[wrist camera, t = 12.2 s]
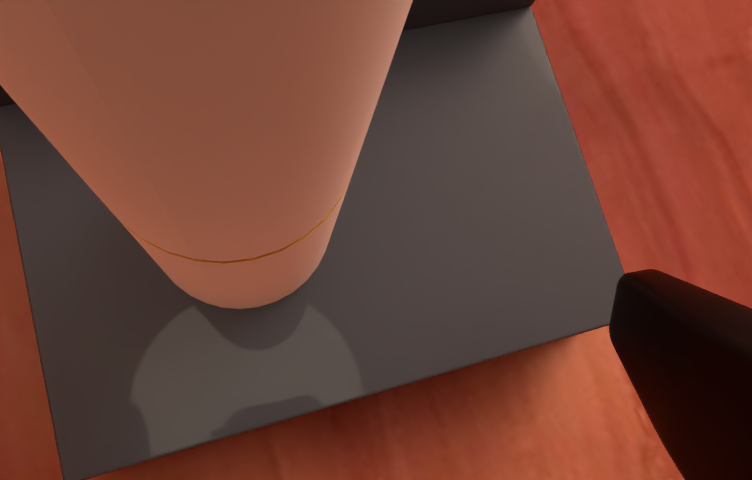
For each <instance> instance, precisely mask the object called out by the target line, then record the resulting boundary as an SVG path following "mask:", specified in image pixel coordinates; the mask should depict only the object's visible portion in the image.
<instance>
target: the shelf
mask: <svg viewBox="0 0 752 480" xmlns="http://www.w3.org/2000/svg"><path fill="white" fill-rule="evenodd" d="M534 1H535V0H413V1H412V4H411V7H410V10H409V13H408V16H407V18H406V21H405V24H404V27H403V30H402V33H401V36H400V39H399V41H398V44H397V47H396V50H395V53H394V56H393V59H392V62H391V64H390V67H389V70H388V73H387V76H386V79H385V82H384V85H383V87H382V90H381V93H380V96H379V99H378V102H377V105H376V108H375V110H374V113H373V116H372V119H371V122H370V125H369V128H368V131H367V133H366V136H365V139H364V142H363V145H362V148H361V151H360V154H359V156H358V159H357V162H356V165H355V168H354V171H353V174H352V176H351V179H350V182H349V185H348V188H347V191H346V194H345V197H344V200H343V202H342V205H341V208H340V211H339V214H338V217H337V220H336V222H335V225H334V228H333V231H332V234H331V237H330V240H329V243H328V245H327V248H326V251H325V253H324V255H323V257H322V259H321V261H320V263H319V265H318V267H317V268H316V269H315V271H314V272H313V273H312V275H311V276H310V277H309V278H308V280H307V281H306V282H305V283H303V284H302V285H301V286H300V287H299V288H297V289H296V290H295V291H294V292H293V293H291V294H289V295H287V296H285V297H284V298H282V299H280V300H278V301H276V302H273V303H270V304H267V305H263V306H260V307H255V308H245V309H233V308H222V307H218V306H215V305H211V304H207V303H205V302H203V301H200V300H198V299H196V298H194V297H192V296H190V295H189V294H187V293H186V292H185V291H183V290H182V289H181V288H180V287H178V286H177V285H176V284H175V283H174V282H173V281H172V280H171V279H170V278H169V277H168V276H167V274H166V273H165V272H164V271H163V270H162V269H161V268H160V266H159V265H158V264H157V263H156V262H155V261H154V260H153V259H152V257H151V256H150V255H149V254H148V253H147V252H146V251H145V249H144V248H143V247H142V246H141V245H140V244H139V243H138V241H137V240H136V239H135V238H134V237H133V236H132V235H131V234H130V232H129V231H128V230H127V229H126V228H125V227H124V226H123V224H122V223H121V222H120V221H119V220H118V219H117V218H116V217H115V215H114V214H113V213H112V212H111V211H110V210H109V209H108V207H107V206H106V205H105V204H104V203H103V202H102V201H101V200H100V198H99V197H98V196H97V195H96V194H95V193H94V192H93V191H92V189H91V188H90V187H89V186H88V185H87V184H86V183H85V181H84V180H83V179H82V178H81V177H80V176H79V175H78V174H77V172H76V171H75V170H74V169H73V168H72V167H71V166H70V164H69V163H68V162H67V161H66V160H65V159H64V157H63V156H62V155H61V154H60V153H59V152H58V151H57V149H56V148H55V147H54V146H53V145H52V144H51V143H50V141H49V140H48V139H47V138H46V137H45V136H44V135H43V133H42V132H41V131H40V130H39V129H38V128H37V127H36V125H35V124H34V123H33V122H32V121H31V120H30V119H29V117H28V116H27V115H26V114H25V113H24V112H23V111H22V109H21V108H20V107H19V106H18V105H17V104H16V102H15V101H14V100H13V99H12V98H11V97H10V96H9V94H8V93H7V92H6V91H5V90H4V89H3V88H2V86H1V85H0V150H1V155H2V160H3V166H4V171H5V176H6V181H7V187H8V192H9V197H10V202H11V208H12V213H13V218H14V224H15V229H16V234H17V239H18V245H19V250H20V255H21V260H22V266H23V271H24V276H25V281H26V287H27V292H28V297H29V303H30V308H31V313H32V318H33V324H34V329H35V334H36V339H37V345H38V350H39V355H40V361H41V366H42V371H43V376H44V382H45V387H46V392H47V397H48V403H49V408H50V413H51V418H52V424H53V429H54V434H55V440H56V445H57V450H58V455H59V461H60V466H61V471H62V476H63V480H86V479H89V478H92V477H96V476H99V475H103V474H106V473H109V472H113V471H116V470H120V469H123V468H126V467H130V466H133V465H137V464H140V463H143V462H147V461H150V460H154V459H157V458H160V457H164V456H167V455H170V454H174V453H177V452H181V451H184V450H187V449H191V448H194V447H198V446H201V445H204V444H208V443H211V442H215V441H218V440H221V439H225V438H228V437H232V436H235V435H238V434H242V433H245V432H248V431H252V430H255V429H259V428H262V427H265V426H269V425H272V424H276V423H279V422H282V421H286V420H289V419H293V418H296V417H299V416H303V415H306V414H310V413H313V412H316V411H320V410H323V409H326V408H330V407H333V406H337V405H340V404H343V403H347V402H350V401H354V400H357V399H360V398H364V397H367V396H371V395H374V394H377V393H381V392H384V391H388V390H391V389H394V388H398V387H401V386H404V385H408V384H411V383H415V382H418V381H421V380H425V379H428V378H432V377H435V376H438V375H442V374H445V373H449V372H452V371H455V370H459V369H462V368H465V367H469V366H472V365H476V364H479V363H482V362H486V361H489V360H493V359H496V358H499V357H503V356H506V355H510V354H513V353H516V352H520V351H523V350H527V349H530V348H533V347H537V346H540V345H543V344H547V343H550V342H554V341H557V340H560V339H564V338H567V337H571V336H574V335H577V334H581V333H584V332H588V331H591V330H594V329H598V328H601V327H605V326H608V325H609V324H610V318H611V313H612V308H613V303H614V298H615V293H616V287H617V283H618V281H619V279H620V278H621V276H623V275H624V274H625V273H624V270H623V268H622V265H621V262H620V259H619V256H618V253H617V251H616V248H615V245H614V242H613V239H612V236H611V234H610V231H609V228H608V225H607V222H606V219H605V216H604V214H603V211H602V208H601V205H600V202H599V199H598V197H597V194H596V191H595V188H594V185H593V182H592V179H591V177H590V174H589V171H588V168H587V165H586V162H585V160H584V157H583V154H582V151H581V148H580V145H579V142H578V140H577V137H576V134H575V131H574V128H573V125H572V123H571V120H570V117H569V114H568V111H567V108H566V105H565V103H564V100H563V97H562V94H561V91H560V88H559V86H558V83H557V80H556V77H555V74H554V71H553V69H552V66H551V63H550V60H549V57H548V54H547V51H546V49H545V46H544V43H543V40H542V37H541V34H540V32H539V29H538V26H537V23H536V20H535V17H534V14H533V12H532V9H531V5H532V4H533V3H534Z"/></svg>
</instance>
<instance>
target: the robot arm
mask: <svg viewBox="0 0 752 480" xmlns="http://www.w3.org/2000/svg"><path fill="white" fill-rule="evenodd" d="M609 333H610V338H611V341H612V344H613V346H614V348H615V350H616V352H617V354H618V356H619V358H620V360H621V362H622V364H623V366H624V368H625V370H626V372H627V374H628V376H629V378H630V380H631V382H632V384H633V386H634V388H635V390H636V392H637V394H638V396H639V398H640V400H641V402H642V404H643V406H644V408H645V410H646V412H647V414H648V416H649V418H650V420H651V422H652V424H653V426H654V428H655V430H656V432H657V434H658V436H659V437H660V439H661V441H662V443H663V445H664V447H665V448H666V450H667V452H668V453H669V455H670V457H671V458H672V460H673V462H674V463H675V465H676V466H677V468H678V470H679V471H680V473H681V474H682V476H683V477H684V479H685V480H752V309H751V308H749V307H746V306H744V305H741V304H739V303H736V302H734V301H732V300H729V299H727V298H724V297H722V296H719V295H717V294H714V293H712V292H710V291H707V290H705V289H702V288H700V287H697V286H695V285H692V284H690V283H688V282H685V281H683V280H680V279H678V278H675V277H673V276H670V275H668V274H666V273H663V272H661V271H658V270H654V269H647V270H642V271H636V272H631V273H626V274H624V275H623V276H621V278H620V279H619V281H618V283H617V287H616V293H615V298H614V303H613V308H612V313H611V318H610V324H609Z"/></svg>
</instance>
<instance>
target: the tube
mask: <svg viewBox="0 0 752 480" xmlns="http://www.w3.org/2000/svg"><path fill="white" fill-rule="evenodd" d="M412 1H413V0H0V85H1V86H2V88H3V89H4V90H5V91H6V92H7V93H8V94H9V96H10V97H11V98H12V99H13V100H14V101H15V102H16V104H17V105H18V106H19V107H20V108H21V109H22V111H23V112H24V113H25V114H26V115H27V116H28V117H29V119H30V120H31V121H32V122H33V123H34V124H35V125H36V127H37V128H38V129H39V130H40V131H41V132H42V133H43V135H44V136H45V137H46V138H47V139H48V140H49V141H50V143H51V144H52V145H53V146H54V147H55V148H56V149H57V151H58V152H59V153H60V154H61V155H62V156H63V157H64V159H65V160H66V161H67V162H68V163H69V164H70V166H71V167H72V168H73V169H74V170H75V171H76V172H77V174H78V175H79V176H80V177H81V178H82V179H83V180H84V181H85V183H86V184H87V185H88V186H89V187H90V188H91V189H92V191H93V192H94V193H95V194H96V195H97V196H98V197H99V198H100V200H101V201H102V202H103V203H104V204H105V205H106V206H107V207H108V209H109V210H110V211H111V212H112V213H113V214H114V215H115V217H116V218H117V219H118V220H119V221H120V222H121V223H122V224H123V226H124V227H125V228H126V229H127V230H128V231H129V232H130V234H131V235H132V236H133V237H134V238H135V239H136V240H137V241H138V243H139V244H140V245H141V246H142V247H143V248H144V249H145V251H146V252H147V253H148V254H149V255H150V256H151V257H152V259H153V260H154V261H155V262H156V263H157V264H158V265H159V266H160V268H161V269H162V270H163V271H164V272H165V273H166V274H167V276H168V277H169V278H170V279H171V280H172V281H173V282H174V283H175V284H176V285H177V286H178V287H180V288H181V289H182V290H183V291H185V292H186V293H187V294H189V295H190V296H192V297H194V298H196V299H198V300H200V301H203V302H205V303H207V304H211V305H215V306H218V307H222V308H233V309H245V308H255V307H260V306H263V305H267V304H270V303H273V302H276V301H278V300H280V299H282V298H284V297H285V296H287V295H289V294H291V293H293V292H294V291H295V290H296V289H297V288H299V287H300V286H301V285H302V284H303V283H305V282H306V281H307V280H308V278H309V277H310V276H311V275H312V273H313V272H314V271H315V269H316V268H317V267H318V265H319V263H320V261H321V259H322V257H323V255H324V253H325V251H326V248H327V245H328V243H329V240H330V237H331V234H332V231H333V228H334V225H335V222H336V220H337V217H338V214H339V211H340V208H341V205H342V202H343V200H344V197H345V194H346V191H347V188H348V185H349V182H350V179H351V176H352V174H353V171H354V168H355V165H356V162H357V159H358V156H359V154H360V151H361V148H362V145H363V142H364V139H365V136H366V133H367V131H368V128H369V125H370V122H371V119H372V116H373V113H374V110H375V108H376V105H377V102H378V99H379V96H380V93H381V90H382V87H383V85H384V82H385V79H386V76H387V73H388V70H389V67H390V64H391V62H392V59H393V56H394V53H395V50H396V47H397V44H398V41H399V39H400V36H401V33H402V30H403V27H404V24H405V21H406V18H407V16H408V13H409V10H410V7H411V4H412Z"/></svg>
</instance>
